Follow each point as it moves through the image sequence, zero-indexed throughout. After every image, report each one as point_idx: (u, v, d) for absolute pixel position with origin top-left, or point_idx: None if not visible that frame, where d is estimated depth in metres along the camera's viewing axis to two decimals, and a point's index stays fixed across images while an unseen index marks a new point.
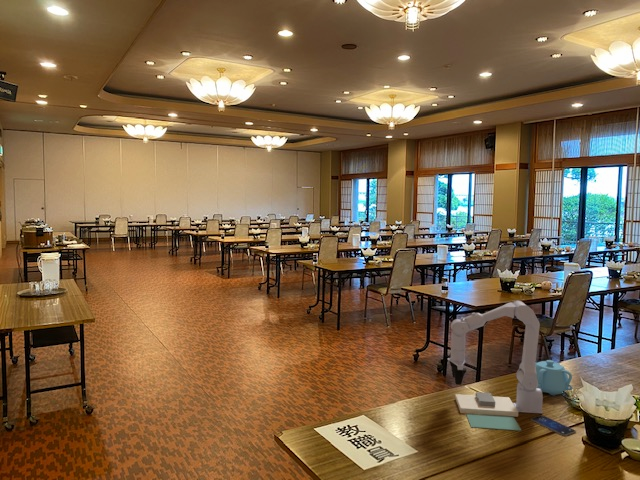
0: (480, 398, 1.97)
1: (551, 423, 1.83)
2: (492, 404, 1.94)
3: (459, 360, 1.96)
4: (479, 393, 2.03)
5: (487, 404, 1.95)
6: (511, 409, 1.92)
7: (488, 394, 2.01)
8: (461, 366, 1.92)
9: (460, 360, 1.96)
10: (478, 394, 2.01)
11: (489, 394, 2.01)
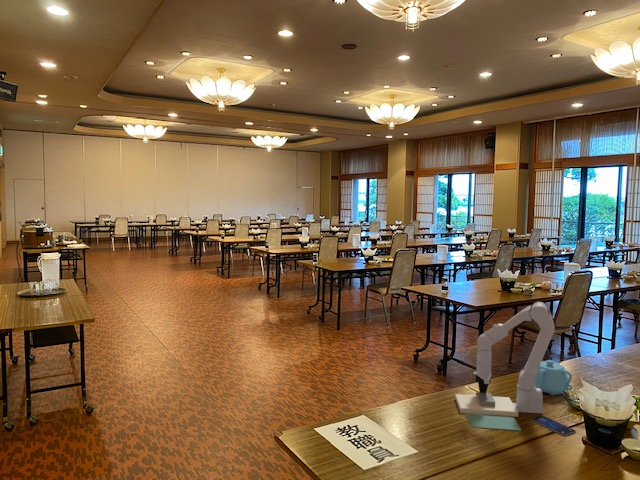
0: (480, 398, 1.97)
1: (551, 423, 1.83)
2: (492, 404, 1.94)
3: (485, 374, 2.01)
4: (479, 393, 2.03)
5: (487, 404, 1.94)
6: (511, 409, 1.92)
7: (488, 394, 2.01)
8: (488, 380, 1.96)
9: (486, 374, 2.00)
10: (478, 394, 2.01)
11: (489, 394, 2.01)
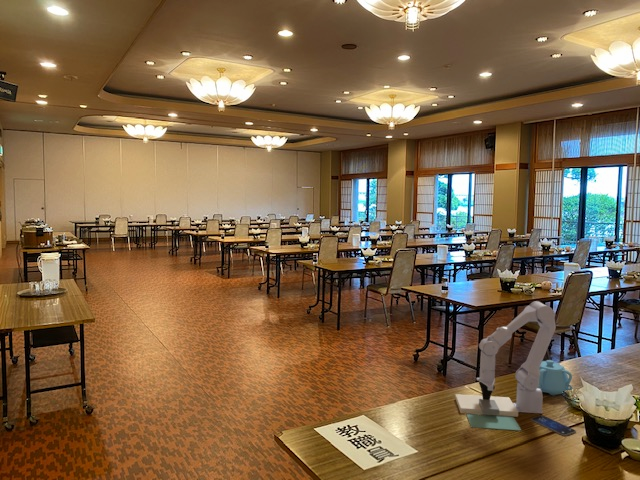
0: (483, 405, 1.90)
1: (551, 423, 1.83)
2: (496, 412, 1.87)
3: (489, 380, 1.94)
4: (482, 400, 1.96)
5: (491, 412, 1.88)
6: (511, 409, 1.92)
7: (492, 401, 1.94)
8: (491, 387, 1.89)
9: (490, 380, 1.94)
10: (481, 401, 1.94)
11: (493, 401, 1.94)
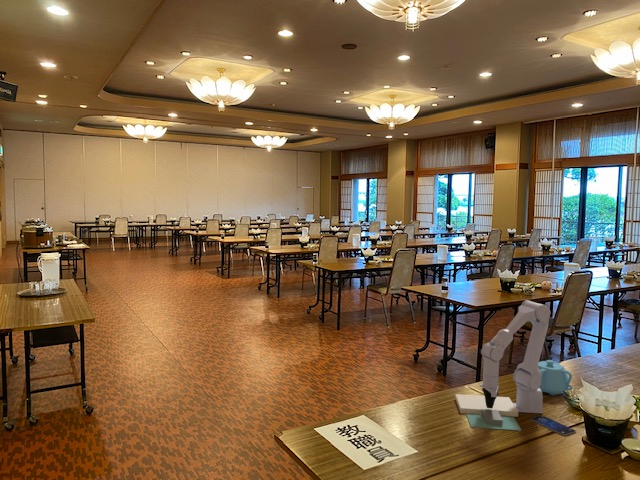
0: (486, 416, 1.85)
1: (551, 423, 1.83)
2: (499, 422, 1.82)
3: (492, 386, 1.87)
4: (485, 410, 1.90)
5: (494, 422, 1.82)
6: (511, 409, 1.92)
7: (495, 411, 1.89)
8: (495, 393, 1.83)
9: (493, 386, 1.87)
10: (484, 411, 1.89)
11: (496, 411, 1.89)
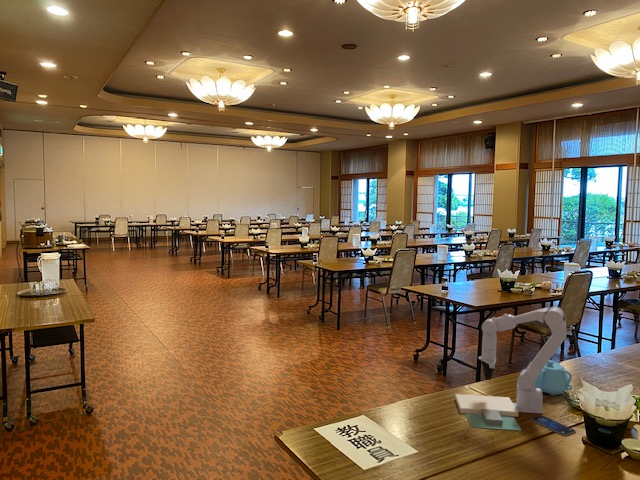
0: (486, 416, 1.85)
1: (551, 423, 1.83)
2: (499, 422, 1.82)
3: (490, 359, 2.00)
4: (485, 410, 1.90)
5: (494, 422, 1.82)
6: (511, 409, 1.92)
7: (495, 411, 1.89)
8: (493, 364, 1.96)
9: (491, 358, 2.00)
10: (484, 411, 1.89)
11: (496, 411, 1.89)
